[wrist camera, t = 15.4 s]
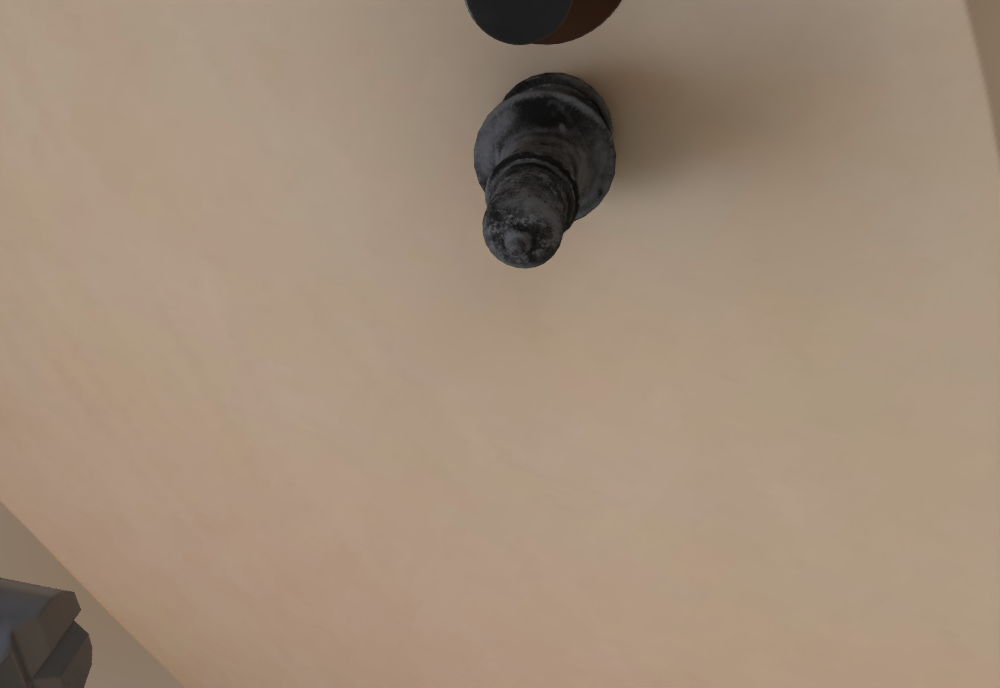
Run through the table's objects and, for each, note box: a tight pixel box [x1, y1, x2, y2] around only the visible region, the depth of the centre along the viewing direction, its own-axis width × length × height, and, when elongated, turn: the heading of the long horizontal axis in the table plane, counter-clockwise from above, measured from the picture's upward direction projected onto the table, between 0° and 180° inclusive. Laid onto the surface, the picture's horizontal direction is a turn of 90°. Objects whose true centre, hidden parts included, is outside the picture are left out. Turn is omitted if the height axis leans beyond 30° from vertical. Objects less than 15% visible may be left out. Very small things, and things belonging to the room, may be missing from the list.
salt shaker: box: [474, 73, 616, 268], centre depth 33 cm, size 6×6×12 cm
